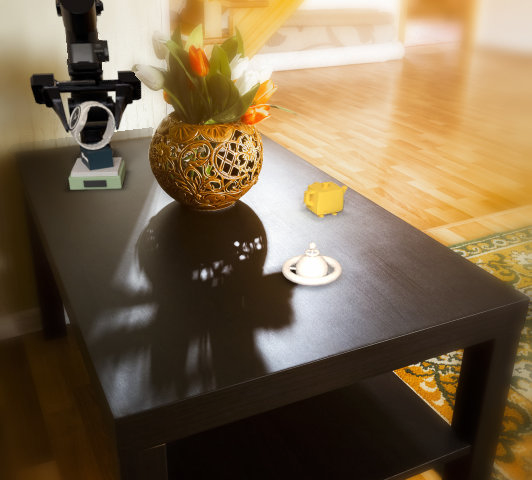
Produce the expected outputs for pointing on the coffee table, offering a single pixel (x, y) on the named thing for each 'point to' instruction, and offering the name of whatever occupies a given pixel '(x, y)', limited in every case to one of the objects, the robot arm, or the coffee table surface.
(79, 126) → the watch
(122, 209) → the coffee table surface
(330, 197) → the teapot
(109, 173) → the scale
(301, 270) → the ring around a ball
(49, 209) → the coffee table surface
